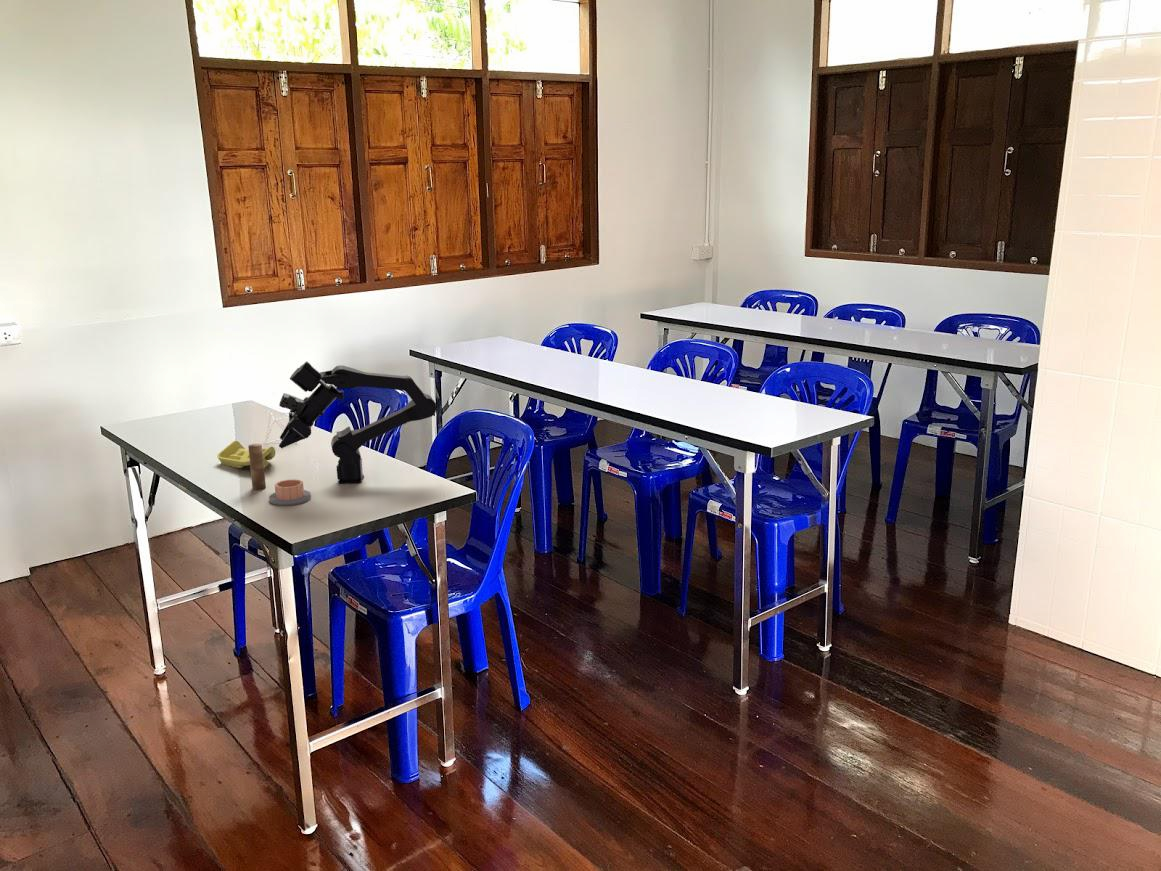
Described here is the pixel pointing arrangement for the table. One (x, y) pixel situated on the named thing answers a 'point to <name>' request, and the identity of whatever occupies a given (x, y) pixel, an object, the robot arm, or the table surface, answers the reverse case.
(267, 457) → the plastic component
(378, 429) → the robot arm
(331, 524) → the table surface
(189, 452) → the table surface
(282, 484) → the ring
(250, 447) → the walnut rail post
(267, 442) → the geometric polyhedron
